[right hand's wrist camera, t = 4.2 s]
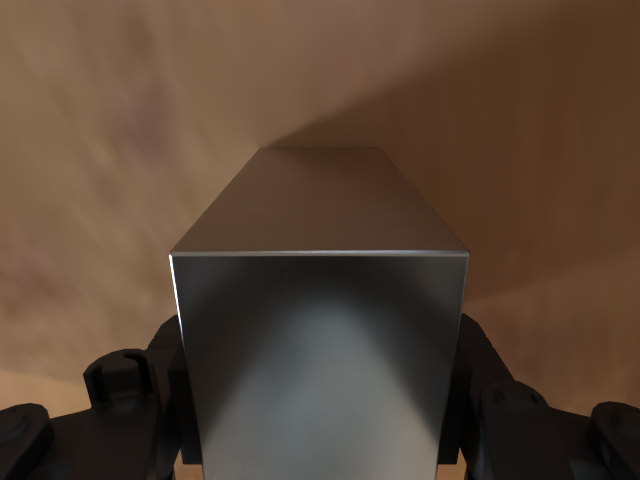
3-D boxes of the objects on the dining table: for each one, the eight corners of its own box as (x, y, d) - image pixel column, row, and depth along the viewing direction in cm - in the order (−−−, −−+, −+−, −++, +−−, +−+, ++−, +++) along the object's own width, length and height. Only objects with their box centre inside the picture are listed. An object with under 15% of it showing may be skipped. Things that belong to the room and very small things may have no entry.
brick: (370, 333, 19) (420, 586, 10) (269, 333, 19) (219, 587, 10) (380, 147, 16) (473, 252, 6) (258, 147, 16) (166, 252, 6)
